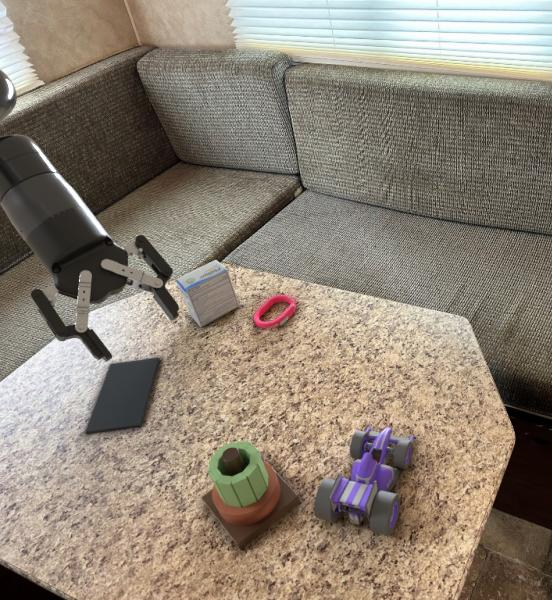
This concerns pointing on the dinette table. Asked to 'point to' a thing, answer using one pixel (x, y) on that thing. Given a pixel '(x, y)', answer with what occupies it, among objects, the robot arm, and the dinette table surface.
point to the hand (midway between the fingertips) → (143, 337)
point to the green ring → (239, 476)
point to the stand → (257, 515)
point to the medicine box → (208, 292)
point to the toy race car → (367, 482)
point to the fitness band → (281, 318)
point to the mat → (123, 396)
